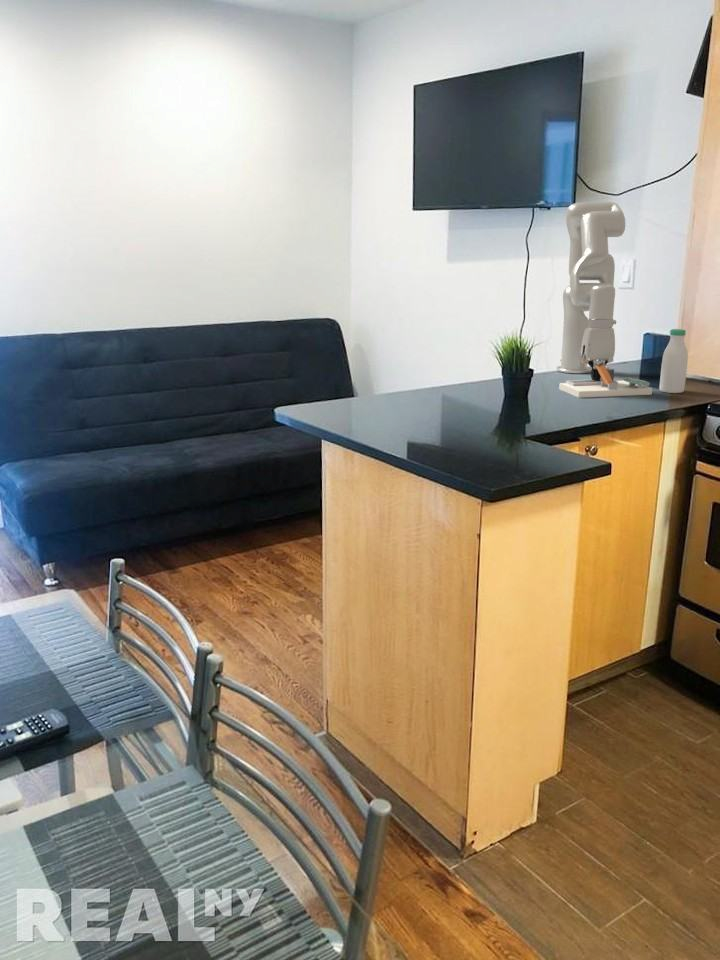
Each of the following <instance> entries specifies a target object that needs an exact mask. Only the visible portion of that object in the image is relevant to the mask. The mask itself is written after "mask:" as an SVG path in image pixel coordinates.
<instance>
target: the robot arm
mask: <svg viewBox="0 0 720 960" xmlns="http://www.w3.org/2000/svg"><path fill="white" fill-rule="evenodd" d="M565 222H566V228H567V231H568V234H569V242H570V245H569V257H568V258H569V260H568V274H569V285H568V286H566V287H565V288H564V290H563V293H562V303H563V305H562V306H563V327H562V328H563V331H562V332H563V333H562V345H561V347H562V348H561V359H560V365H559V366H556V370H555V371H557V372H560V373H563V374H565V373H567V374H586V373H587V374H588V373H591V374H590V378H591V380H594V381H600V379H601V376H600V374H599V372H598V370H597V368H596V366H595V364H594V363H595V362H596V361H598V360H599V361H602V362H603V363H604V365H605V366H606V365H607V364H611V363H613V362H614V357H615V351H616V337H615V328H613V327H614V325H616V324H617V320H616V319H615V320H614V309H615V298H616V288H615V286H614V285H615V284H614V283H615V272H616V271H615V268H616V267H615V264H616V263H615V259H614V257H613V256H612V254H611V253H609V240H608V238H619V237H622V236H623V235H624V233H625V230H626V217H625V213H624V212H623V210H622V208H621V207H620V205H619V204H618V203H616V202H611V201H603V202H601V201H599V202H597V201H585V202H583V201H582V202H574V203H572V204H570V205H569V206H568V207H567V209H566V214H565ZM580 281H598V282H580ZM585 312H589V313H588V317H587V316H586V314H585Z"/></svg>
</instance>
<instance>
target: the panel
mask: <svg viewBox="0 0 720 960" xmlns="http://www.w3.org/2000/svg"><path fill="white" fill-rule="evenodd" d="M558 383H559V385H558V386H559V387H558V390H560V391H562V392H565V393H567V394H569V395H572V396H574V397H575V398H579V399H580V398H582V399H583V398H602V397H624V396H625V397H627V396H646V395H647V396H649V395H652V393H653V387H650V386H644V385H642V386H640V385H637V384H634V383H629V382H626V381H624V379H623V380H615V379H613V383H608V385H607V384H605V383H604V381H601V379H600V381H594V380H592V379H572V380H571V379H570V380H568V379H567V380H565V382H558Z"/></svg>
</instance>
